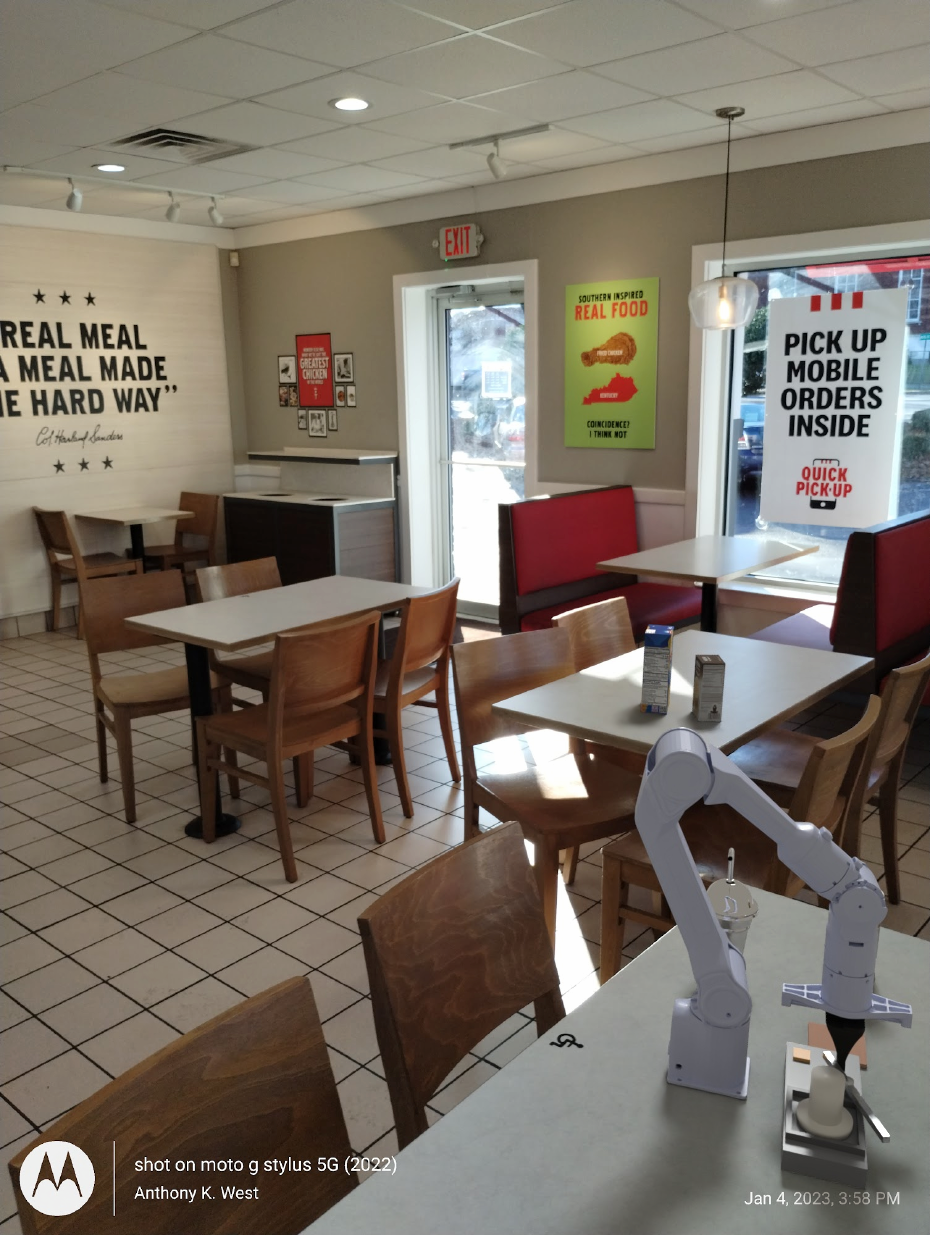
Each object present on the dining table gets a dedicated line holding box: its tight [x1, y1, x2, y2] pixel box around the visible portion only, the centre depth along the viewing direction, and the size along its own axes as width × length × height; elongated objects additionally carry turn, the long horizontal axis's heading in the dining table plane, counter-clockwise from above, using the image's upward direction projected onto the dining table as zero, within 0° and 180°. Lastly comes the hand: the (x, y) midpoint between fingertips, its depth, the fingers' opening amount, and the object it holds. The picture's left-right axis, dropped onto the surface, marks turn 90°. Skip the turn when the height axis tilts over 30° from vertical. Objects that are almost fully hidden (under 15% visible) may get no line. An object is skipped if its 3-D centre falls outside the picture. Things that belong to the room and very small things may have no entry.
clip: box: [823, 1051, 891, 1144], centre depth 115 cm, size 1×14×2 cm, turn 6°
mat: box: [807, 1021, 868, 1069], centre depth 130 cm, size 7×7×1 cm
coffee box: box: [691, 654, 726, 722], centre depth 266 cm, size 9×6×16 cm
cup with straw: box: [706, 847, 760, 956], centre depth 146 cm, size 8×9×20 cm
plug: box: [796, 1066, 853, 1141], centre depth 112 cm, size 6×6×6 cm
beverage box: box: [640, 624, 675, 716], centre depth 272 cm, size 7×11×22 cm, turn 165°
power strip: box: [780, 1041, 869, 1191], centre depth 117 cm, size 9×20×3 cm, turn 161°
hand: (840, 1066), depth 122 cm, fingers closed, pressing on clip
